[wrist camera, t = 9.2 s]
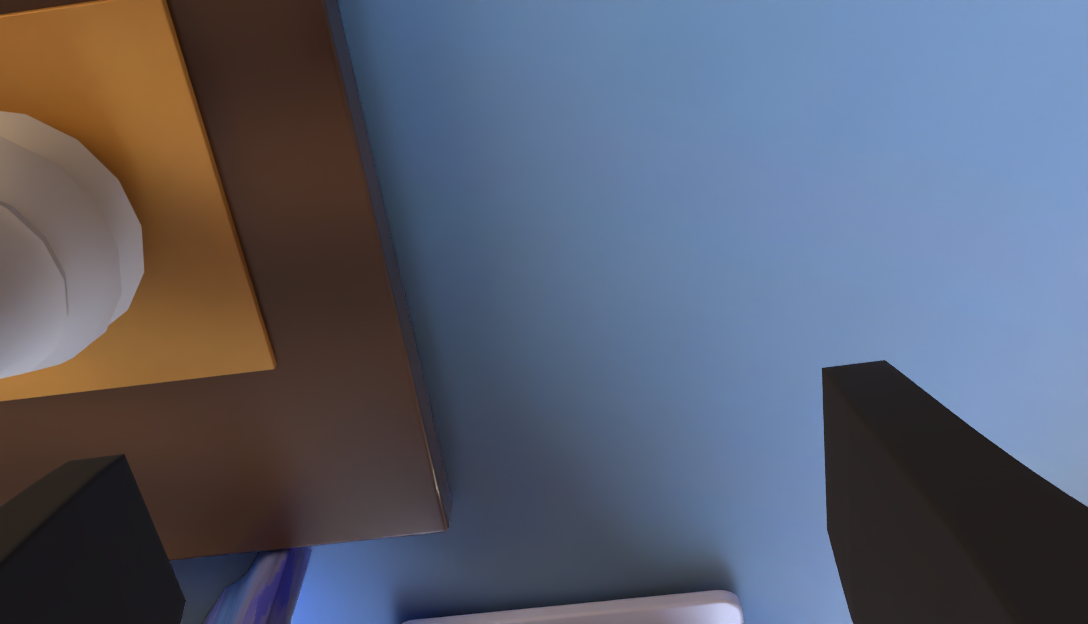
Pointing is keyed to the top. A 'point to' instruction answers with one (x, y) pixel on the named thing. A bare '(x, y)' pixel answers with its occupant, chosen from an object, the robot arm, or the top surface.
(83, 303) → the rook chess piece
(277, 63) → the board
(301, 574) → the multicoloured long bar
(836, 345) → the top surface
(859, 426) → the robot arm
